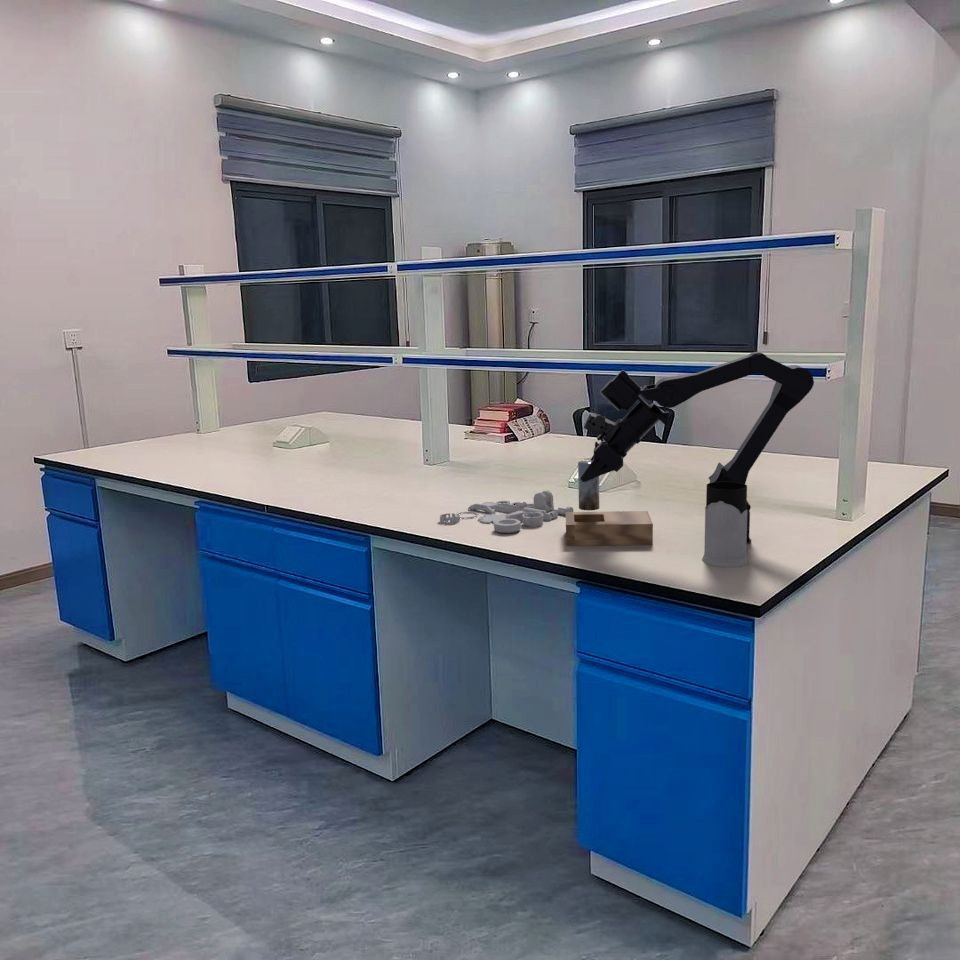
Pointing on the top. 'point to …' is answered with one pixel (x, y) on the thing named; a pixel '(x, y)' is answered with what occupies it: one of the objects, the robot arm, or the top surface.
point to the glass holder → (726, 524)
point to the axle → (587, 489)
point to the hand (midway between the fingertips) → (582, 478)
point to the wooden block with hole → (609, 528)
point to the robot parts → (513, 513)
